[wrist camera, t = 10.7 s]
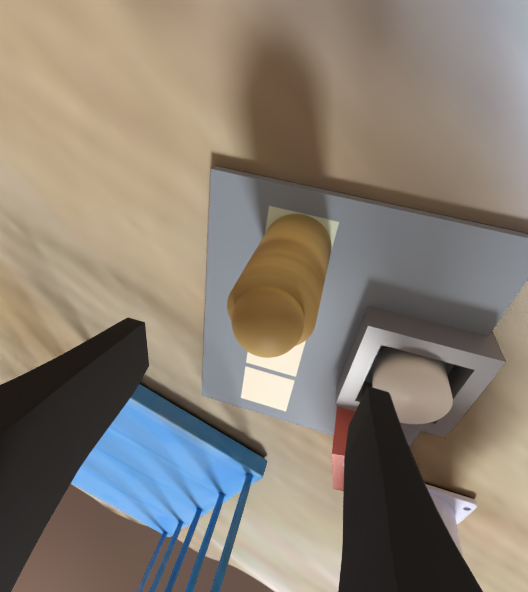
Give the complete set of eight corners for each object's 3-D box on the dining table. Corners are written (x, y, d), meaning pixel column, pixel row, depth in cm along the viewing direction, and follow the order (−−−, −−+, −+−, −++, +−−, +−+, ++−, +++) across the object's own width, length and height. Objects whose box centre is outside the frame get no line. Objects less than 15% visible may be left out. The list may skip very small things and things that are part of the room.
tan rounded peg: (322, 282, 19) (297, 391, 13) (260, 266, 20) (208, 364, 14) (339, 223, 17) (320, 320, 11) (269, 206, 17) (212, 291, 11)
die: (393, 444, 25) (396, 503, 22) (337, 436, 26) (332, 491, 23) (398, 409, 23) (402, 467, 20) (337, 401, 24) (331, 456, 21)
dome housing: (439, 406, 23) (445, 438, 21) (337, 377, 24) (334, 405, 22) (492, 331, 19) (505, 362, 17) (368, 299, 20) (367, 325, 18)
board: (401, 449, 26) (402, 457, 26) (204, 389, 28) (201, 395, 28) (547, 237, 16) (553, 243, 15) (215, 165, 18) (210, 168, 17)
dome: (427, 398, 22) (433, 432, 20) (364, 380, 22) (363, 411, 20) (457, 354, 19) (467, 387, 17) (385, 335, 20) (386, 364, 18)
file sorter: (102, 356, 30) (-87, 566, 17) (270, 455, 32) (206, 706, 19) (59, 459, 45) (-59, 611, 32) (176, 522, 47) (106, 688, 34)
